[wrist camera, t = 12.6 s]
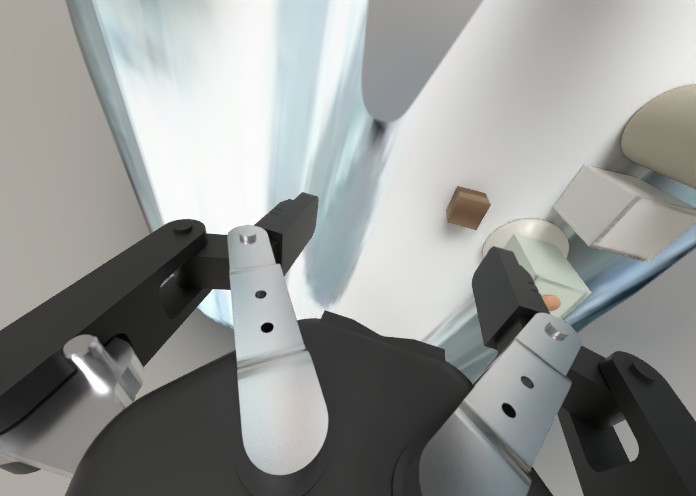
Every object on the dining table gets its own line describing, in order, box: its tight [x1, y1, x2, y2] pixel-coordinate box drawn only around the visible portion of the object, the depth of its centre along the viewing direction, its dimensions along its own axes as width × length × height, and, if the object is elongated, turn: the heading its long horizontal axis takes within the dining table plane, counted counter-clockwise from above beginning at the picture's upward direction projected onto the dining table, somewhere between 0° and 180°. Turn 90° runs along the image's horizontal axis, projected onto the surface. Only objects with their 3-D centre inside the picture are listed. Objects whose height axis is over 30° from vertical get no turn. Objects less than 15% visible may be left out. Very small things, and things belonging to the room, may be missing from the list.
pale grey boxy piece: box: [504, 233, 591, 320], centre depth 35 cm, size 6×6×10 cm
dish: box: [482, 218, 569, 259], centre depth 39 cm, size 11×11×1 cm
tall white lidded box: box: [553, 165, 696, 263], centre depth 29 cm, size 6×6×10 cm
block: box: [446, 186, 491, 230], centre depth 37 cm, size 4×4×4 cm
